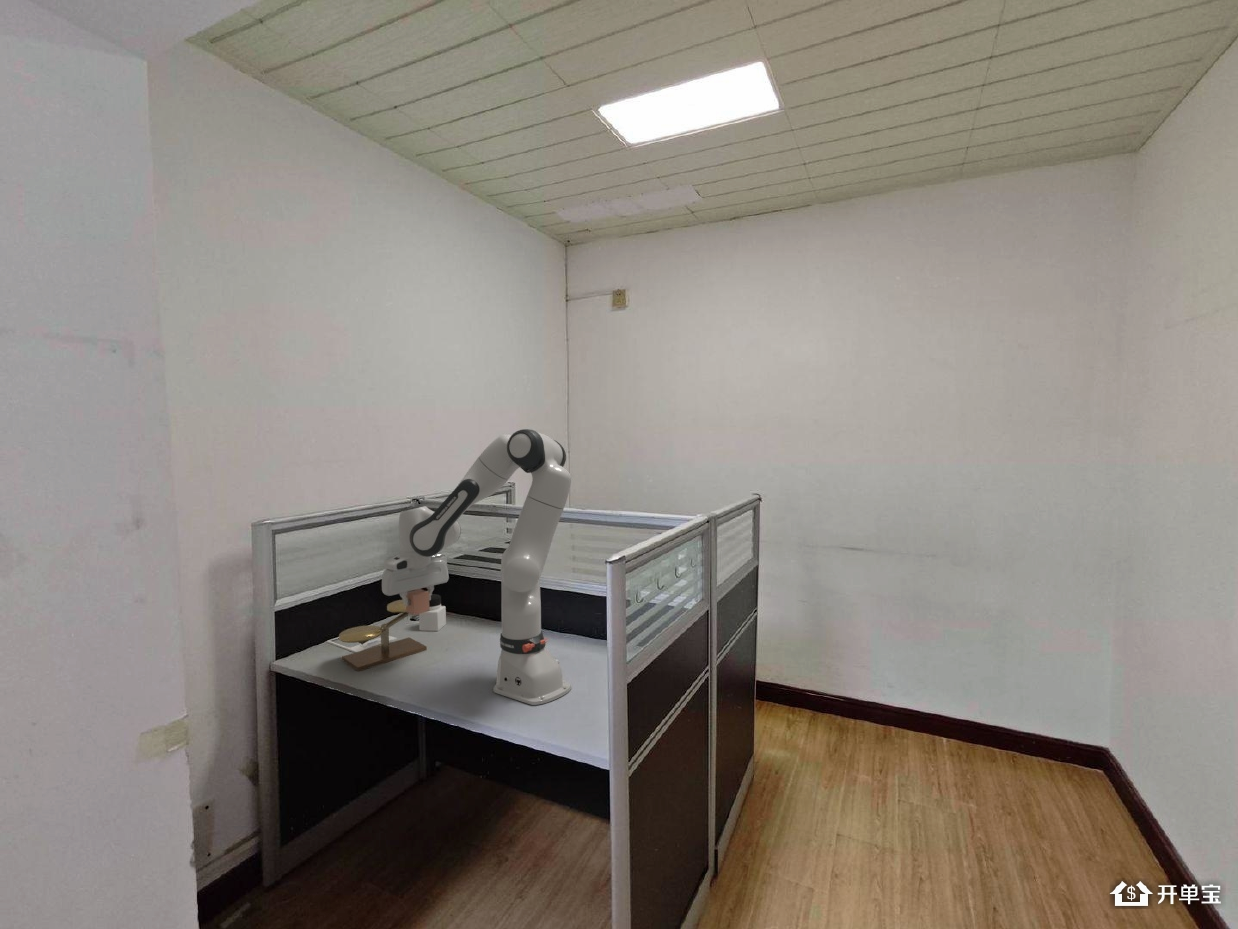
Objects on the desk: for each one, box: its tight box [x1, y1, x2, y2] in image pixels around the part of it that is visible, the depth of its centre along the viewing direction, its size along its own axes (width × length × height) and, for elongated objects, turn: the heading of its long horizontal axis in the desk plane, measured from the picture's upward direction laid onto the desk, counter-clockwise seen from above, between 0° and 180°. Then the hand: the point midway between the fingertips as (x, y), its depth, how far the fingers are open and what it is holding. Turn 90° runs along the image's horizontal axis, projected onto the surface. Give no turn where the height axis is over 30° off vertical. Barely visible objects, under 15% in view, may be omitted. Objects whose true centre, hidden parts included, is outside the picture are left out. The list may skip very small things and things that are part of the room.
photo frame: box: [326, 635, 398, 653], centre depth 187 cm, size 15×1×18 cm
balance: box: [338, 598, 427, 672], centre depth 175 cm, size 12×27×15 cm, turn 137°
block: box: [405, 588, 430, 616], centre depth 168 cm, size 5×5×6 cm
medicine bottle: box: [418, 593, 447, 632], centre depth 200 cm, size 7×7×12 cm
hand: (417, 603), depth 168 cm, fingers closed on block, 5 cm apart
